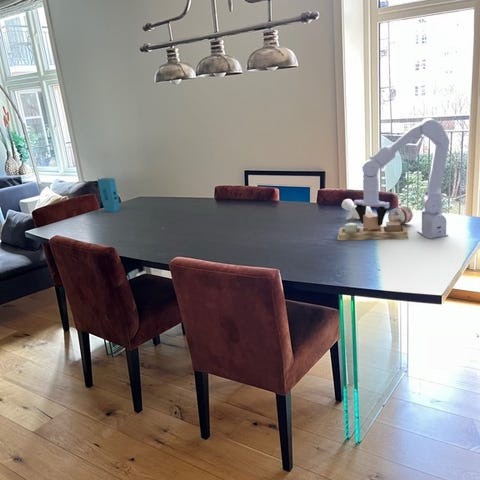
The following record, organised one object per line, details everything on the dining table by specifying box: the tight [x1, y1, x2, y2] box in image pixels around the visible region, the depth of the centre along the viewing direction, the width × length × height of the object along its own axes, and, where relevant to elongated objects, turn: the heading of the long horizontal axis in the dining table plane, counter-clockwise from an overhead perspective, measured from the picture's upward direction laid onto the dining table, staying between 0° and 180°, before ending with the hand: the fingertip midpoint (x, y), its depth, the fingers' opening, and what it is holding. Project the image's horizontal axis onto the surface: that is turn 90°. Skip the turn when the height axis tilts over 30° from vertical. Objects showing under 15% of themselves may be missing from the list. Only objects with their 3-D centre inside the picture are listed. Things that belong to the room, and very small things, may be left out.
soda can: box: [387, 206, 414, 226], centre depth 195 cm, size 7×7×12 cm
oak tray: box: [337, 225, 409, 241], centre depth 190 cm, size 27×10×2 cm, turn 76°
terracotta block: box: [362, 212, 382, 230], centre depth 188 cm, size 5×5×5 cm
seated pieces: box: [344, 221, 401, 233], centre depth 189 cm, size 21×5×4 cm, turn 76°
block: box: [97, 177, 120, 213], centre depth 290 cm, size 12×5×20 cm, turn 51°
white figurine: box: [341, 198, 373, 221], centre depth 215 cm, size 9×8×15 cm
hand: (371, 223), depth 189 cm, fingers closed on terracotta block, 7 cm apart
